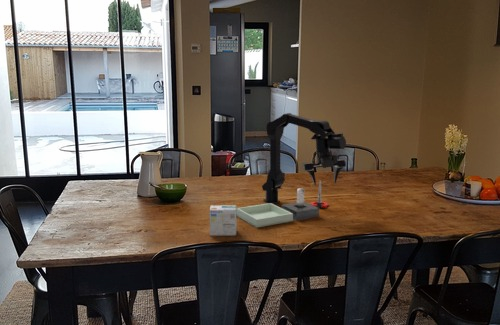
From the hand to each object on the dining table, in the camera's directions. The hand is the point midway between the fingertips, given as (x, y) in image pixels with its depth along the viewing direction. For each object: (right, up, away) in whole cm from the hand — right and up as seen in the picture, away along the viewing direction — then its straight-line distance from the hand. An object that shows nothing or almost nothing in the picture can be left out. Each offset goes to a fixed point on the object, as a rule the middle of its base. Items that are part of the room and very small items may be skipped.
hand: (325, 183), depth 223 cm
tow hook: (0, -11, +16) cm, 19 cm away
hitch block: (-11, -14, 0) cm, 18 cm away
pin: (-11, -14, 0) cm, 18 cm away
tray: (-28, -15, -5) cm, 32 cm away
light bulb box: (-44, -19, -24) cm, 54 cm away
